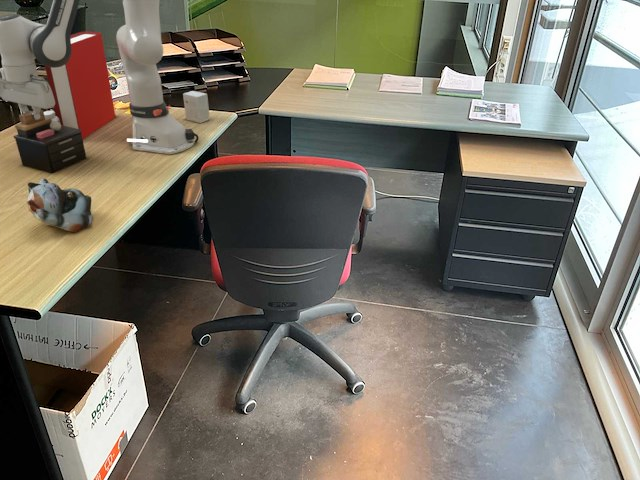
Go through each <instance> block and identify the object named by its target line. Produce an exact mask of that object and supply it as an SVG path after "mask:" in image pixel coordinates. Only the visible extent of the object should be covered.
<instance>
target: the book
mask: <svg viewBox="0 0 640 480" xmlns="http://www.w3.org/2000/svg"><path fill="white" fill-rule="evenodd" d="M70 41H71V49H72V53H71V57H70V59H69V61H68V62H67V63H66V64H65V65H63V66H61V67H56V68H52V67H48V66H45V65H44V68H45V69H44V70H45V74H46V78H47V82H48V84H49V86H50V88H51V90H52V93H53V96H54V99H55V106H54V107H53V108H54V112H55V116H57V117H58V118H59V120H60V123H61V125H63V126H67V127H72V128H76V129H80V130H82V132H81V135H82V139H85V138H86V137H88V136H89V135H91V134H92V133H94V132H96V131H97V130H99V129H100V128H102V127H103V126H105V125H106V124H107V123H110V122H111V121H112V120H114V119H116V112H115V106H114V102H113V93H112V87H111V81H110V77H109V71H108V64H107V59H106V53H105V47H104V41H103V35H102V32H100V31H88V30H87V31H79V32H76V33H73V34H71V35H70Z"/></svg>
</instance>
